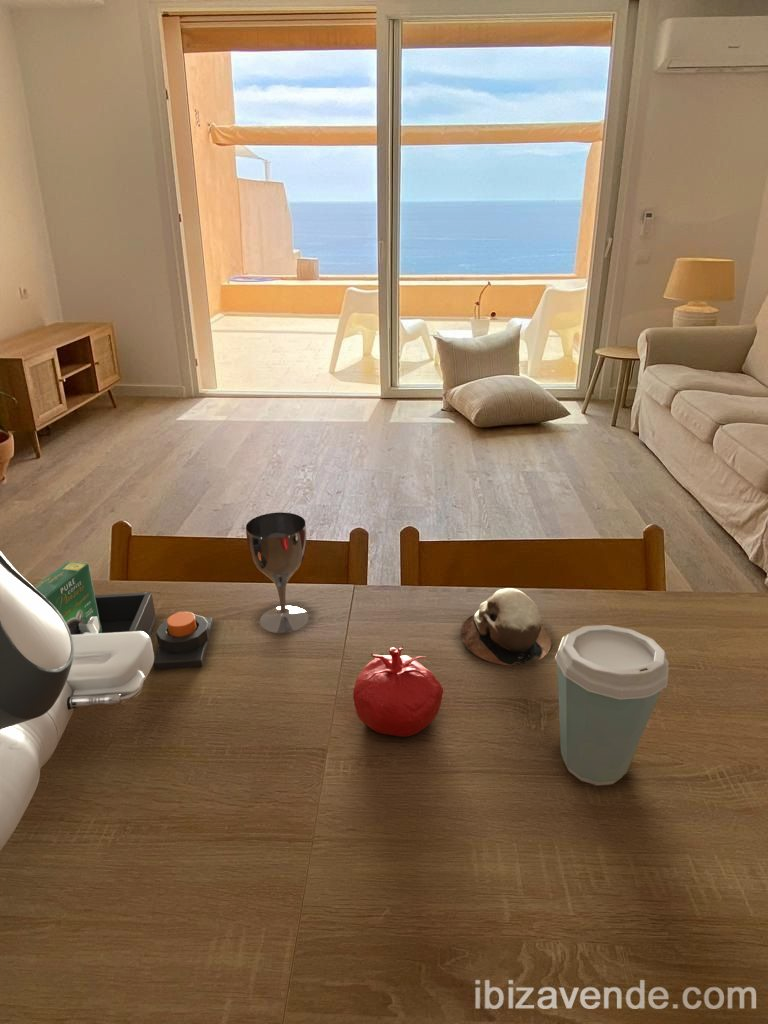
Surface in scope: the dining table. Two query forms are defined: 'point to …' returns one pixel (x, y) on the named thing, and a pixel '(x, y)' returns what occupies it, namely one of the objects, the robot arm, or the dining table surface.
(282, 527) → the wine glass
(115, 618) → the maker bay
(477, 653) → the skull
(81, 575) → the coffee box
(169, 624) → the button
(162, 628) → the panel
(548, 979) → the dining table surface
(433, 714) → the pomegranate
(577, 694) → the disposable coffee cup
